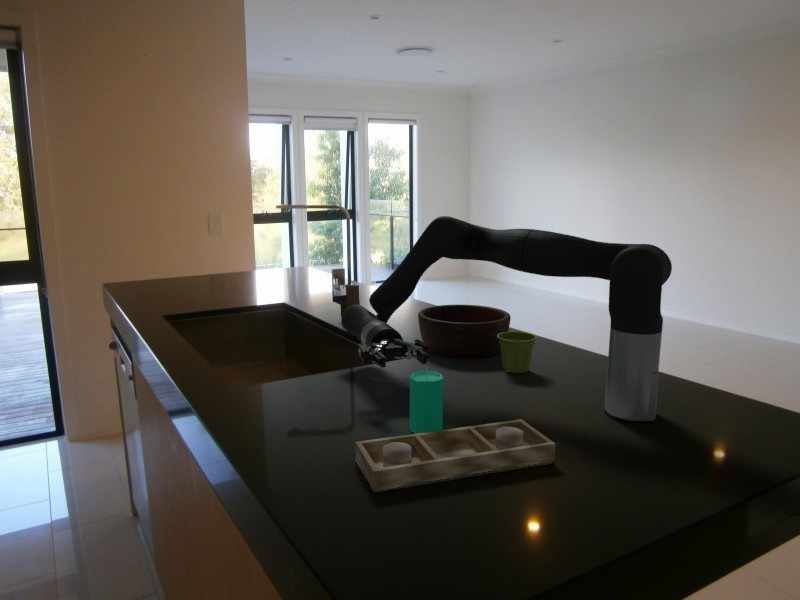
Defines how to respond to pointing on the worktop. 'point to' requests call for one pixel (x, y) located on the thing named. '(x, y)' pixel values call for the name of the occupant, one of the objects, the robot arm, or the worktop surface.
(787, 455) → the worktop surface
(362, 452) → the tray
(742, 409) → the worktop surface
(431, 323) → the wooden bowl
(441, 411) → the candle
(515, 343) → the plant pot
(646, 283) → the robot arm
